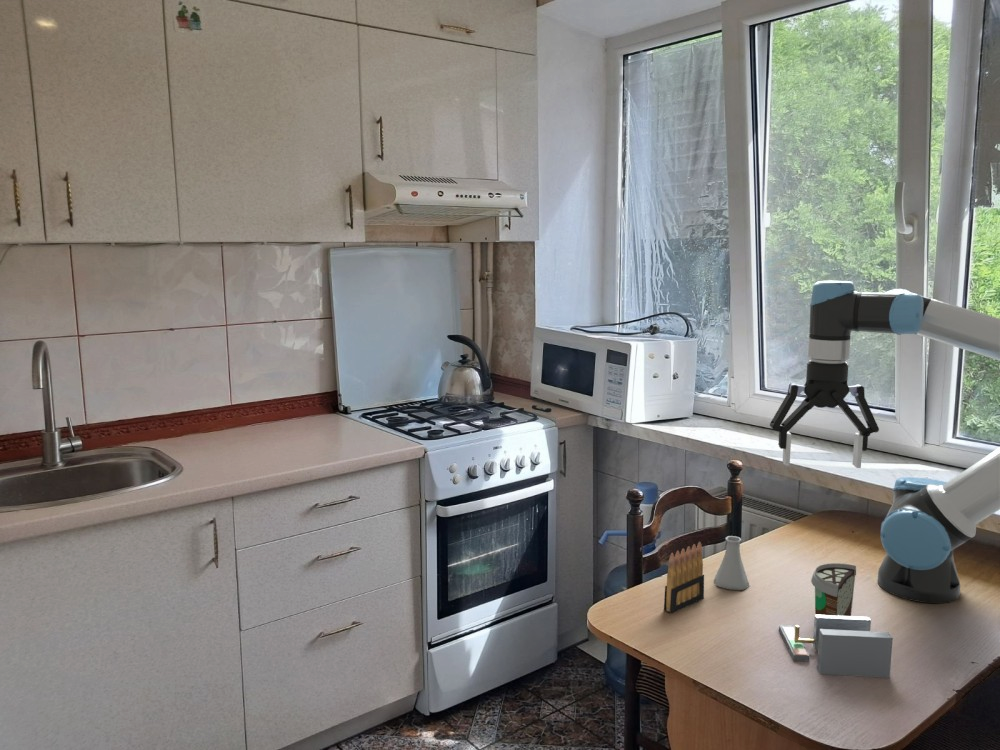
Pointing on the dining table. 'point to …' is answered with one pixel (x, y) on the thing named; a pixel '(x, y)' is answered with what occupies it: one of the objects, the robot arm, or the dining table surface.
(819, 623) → the plate
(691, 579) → the ammunition clip
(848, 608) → the food container
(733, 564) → the flask
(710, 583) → the dining table surface
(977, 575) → the dining table surface
